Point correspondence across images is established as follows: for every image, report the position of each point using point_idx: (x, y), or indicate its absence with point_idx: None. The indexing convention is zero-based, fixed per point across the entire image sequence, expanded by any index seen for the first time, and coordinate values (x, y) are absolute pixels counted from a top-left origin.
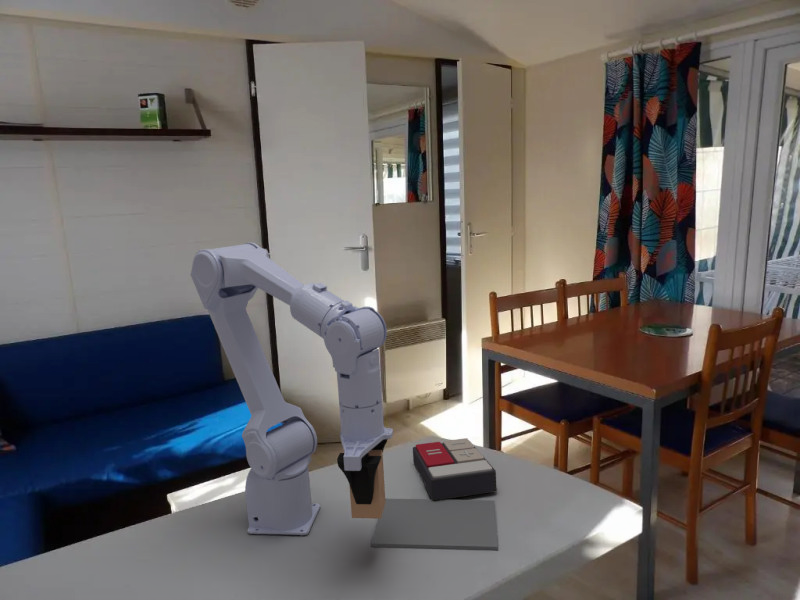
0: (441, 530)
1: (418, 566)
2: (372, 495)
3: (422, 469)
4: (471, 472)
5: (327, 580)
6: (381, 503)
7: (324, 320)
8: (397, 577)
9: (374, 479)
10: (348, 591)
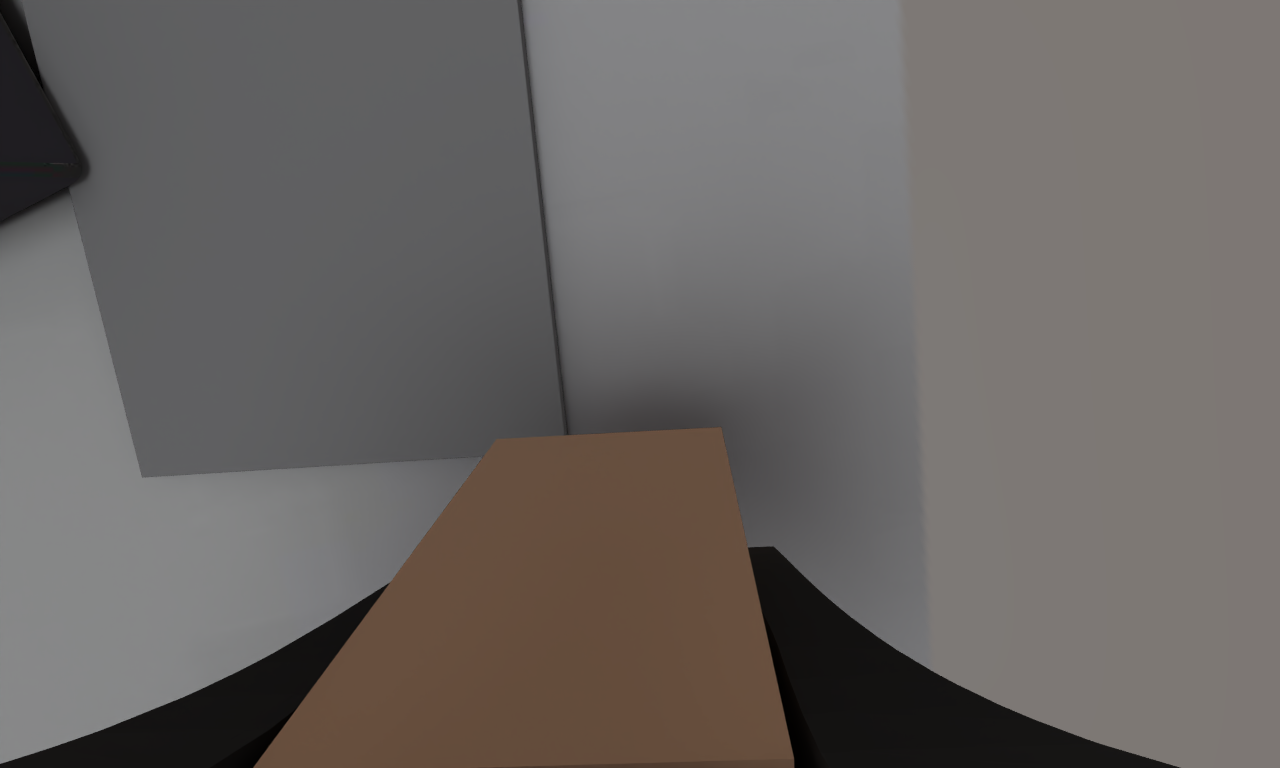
0: (378, 71)
1: (695, 164)
2: (797, 571)
3: None
4: None
5: (839, 581)
6: (661, 461)
7: None
8: (792, 260)
9: (803, 646)
10: (908, 471)
